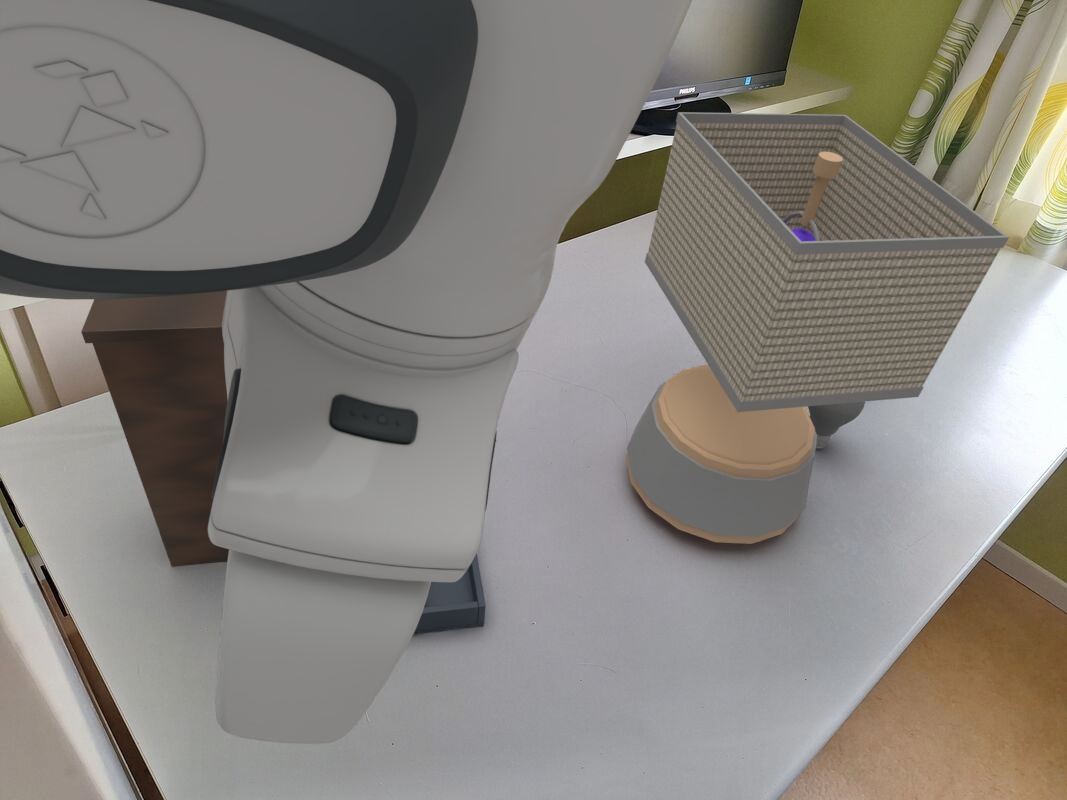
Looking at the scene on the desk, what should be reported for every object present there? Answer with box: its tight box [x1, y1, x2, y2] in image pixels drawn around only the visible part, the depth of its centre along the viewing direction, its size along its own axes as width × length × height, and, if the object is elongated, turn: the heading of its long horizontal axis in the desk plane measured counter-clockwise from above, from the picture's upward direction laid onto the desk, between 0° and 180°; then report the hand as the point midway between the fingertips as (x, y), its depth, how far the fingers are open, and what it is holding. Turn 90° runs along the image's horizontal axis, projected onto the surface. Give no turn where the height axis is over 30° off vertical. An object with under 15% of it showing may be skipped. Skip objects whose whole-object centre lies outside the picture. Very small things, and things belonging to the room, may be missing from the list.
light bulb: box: [807, 401, 866, 449], centre depth 85 cm, size 6×6×10 cm
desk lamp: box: [625, 111, 1010, 545], centre depth 69 cm, size 22×19×37 cm
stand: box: [81, 291, 229, 567], centre depth 63 cm, size 11×9×26 cm
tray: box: [413, 552, 487, 635], centre depth 73 cm, size 13×27×3 cm, turn 12°
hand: (296, 551), depth 32 cm, fingers open, 8 cm apart
